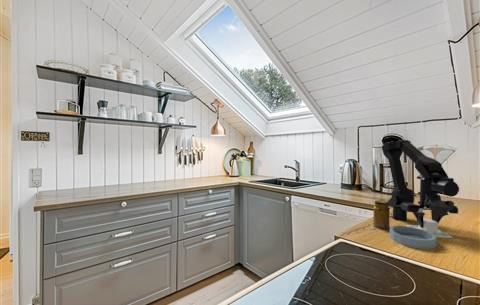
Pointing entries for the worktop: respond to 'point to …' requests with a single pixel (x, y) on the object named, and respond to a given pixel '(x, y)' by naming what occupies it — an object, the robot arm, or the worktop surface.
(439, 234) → the tray
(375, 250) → the worktop surface
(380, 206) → the condiment
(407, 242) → the bowl
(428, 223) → the white matte cube
